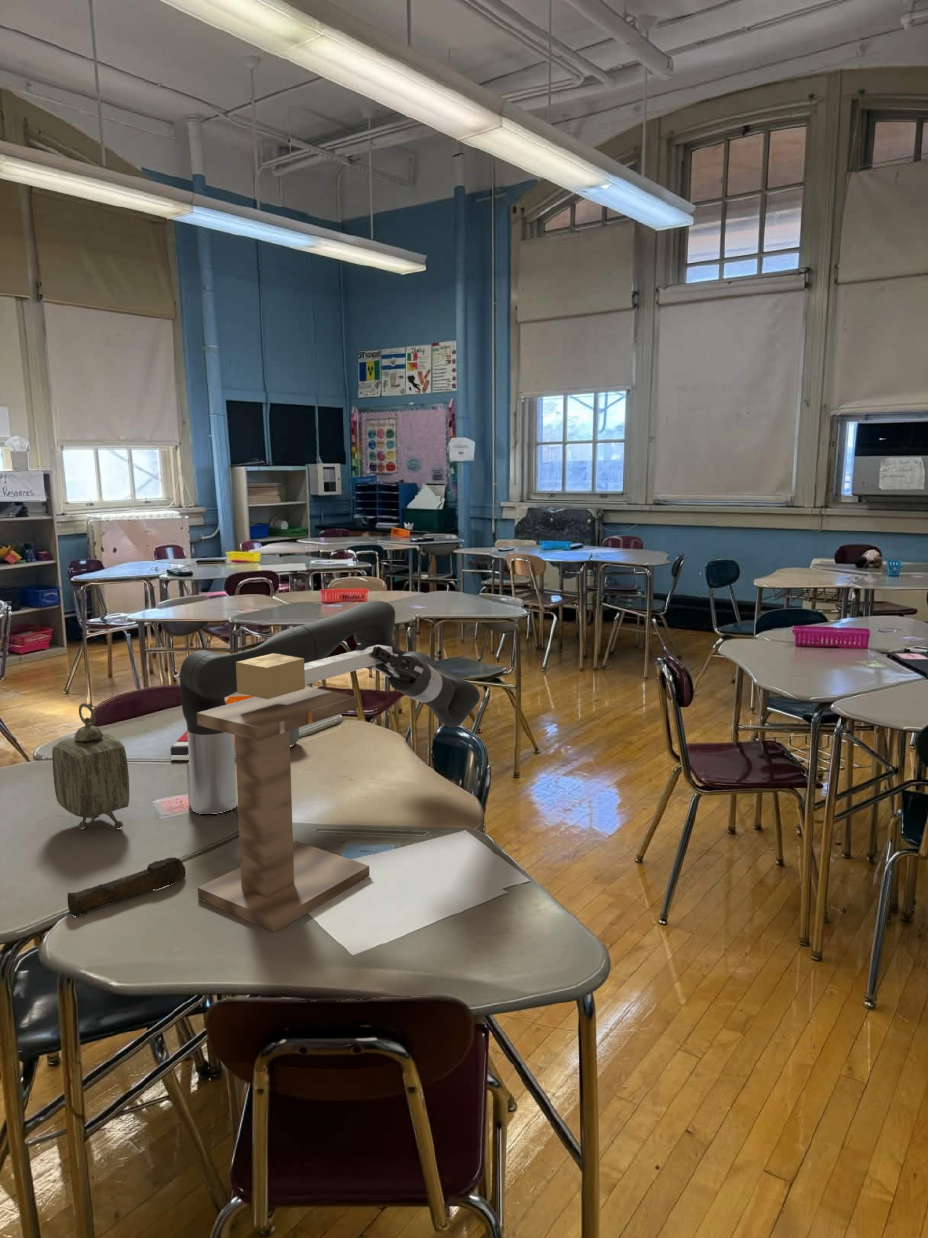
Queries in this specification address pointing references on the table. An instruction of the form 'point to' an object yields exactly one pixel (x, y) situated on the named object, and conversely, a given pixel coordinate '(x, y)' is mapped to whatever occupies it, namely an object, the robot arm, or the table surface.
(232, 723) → the stand
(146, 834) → the table surface
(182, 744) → the red black flat block
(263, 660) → the bar
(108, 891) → the hand tool
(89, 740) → the tabletop clock
